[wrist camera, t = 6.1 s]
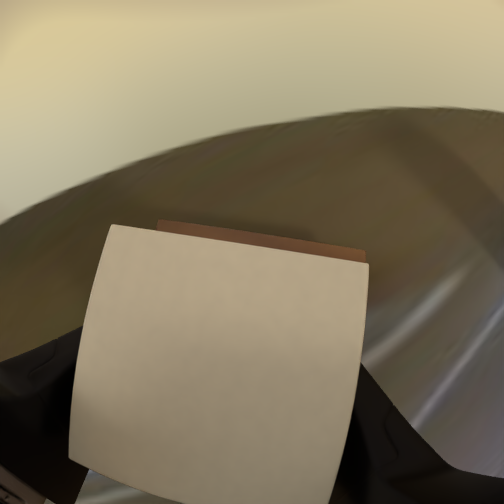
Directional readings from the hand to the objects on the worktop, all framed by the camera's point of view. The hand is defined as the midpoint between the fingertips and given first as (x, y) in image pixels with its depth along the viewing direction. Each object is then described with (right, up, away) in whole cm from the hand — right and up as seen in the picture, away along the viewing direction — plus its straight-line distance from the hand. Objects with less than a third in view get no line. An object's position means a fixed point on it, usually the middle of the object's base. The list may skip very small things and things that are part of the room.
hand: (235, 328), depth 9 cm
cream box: (0, -3, +5) cm, 6 cm away
